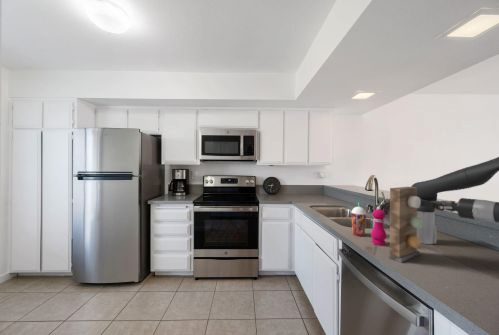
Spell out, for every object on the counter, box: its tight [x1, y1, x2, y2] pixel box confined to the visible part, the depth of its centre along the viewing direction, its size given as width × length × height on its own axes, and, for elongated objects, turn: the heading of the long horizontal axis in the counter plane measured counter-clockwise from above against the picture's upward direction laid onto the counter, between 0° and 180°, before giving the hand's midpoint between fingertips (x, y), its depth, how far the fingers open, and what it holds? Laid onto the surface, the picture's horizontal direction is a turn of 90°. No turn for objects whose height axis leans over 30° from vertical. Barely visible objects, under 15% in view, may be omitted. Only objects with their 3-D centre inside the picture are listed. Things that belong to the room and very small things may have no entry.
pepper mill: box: [370, 206, 387, 247], centre depth 116 cm, size 7×7×20 cm
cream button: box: [407, 196, 421, 208], centre depth 96 cm, size 3×5×5 cm, turn 120°
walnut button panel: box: [388, 186, 421, 263], centre depth 100 cm, size 5×17×32 cm, turn 120°
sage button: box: [410, 216, 424, 229], centre depth 95 cm, size 3×5×5 cm, turn 120°
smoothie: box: [350, 202, 367, 237], centre depth 131 cm, size 8×8×20 cm
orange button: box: [407, 235, 421, 249], centre depth 97 cm, size 3×5×5 cm, turn 120°
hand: (421, 202), depth 94 cm, fingers closed
